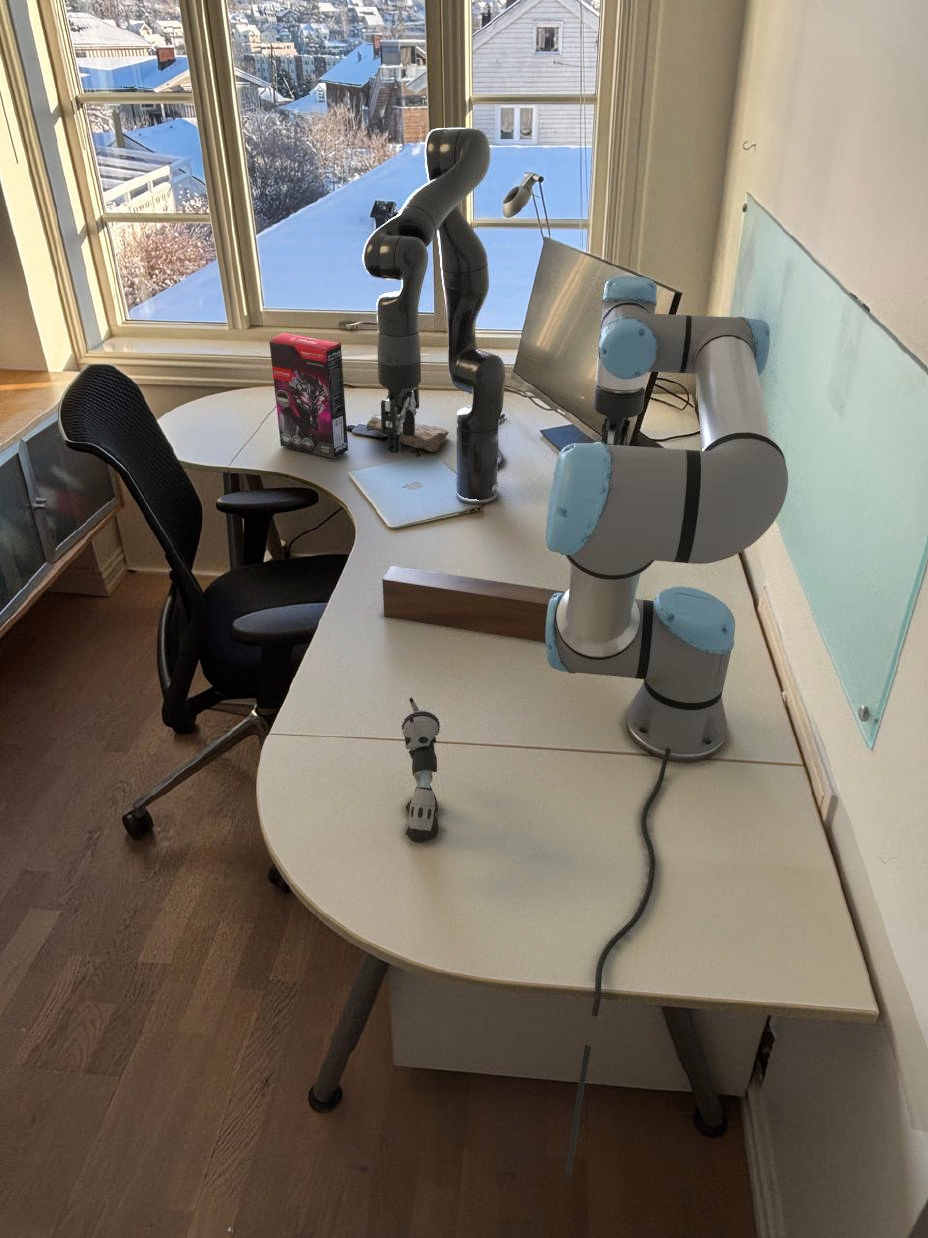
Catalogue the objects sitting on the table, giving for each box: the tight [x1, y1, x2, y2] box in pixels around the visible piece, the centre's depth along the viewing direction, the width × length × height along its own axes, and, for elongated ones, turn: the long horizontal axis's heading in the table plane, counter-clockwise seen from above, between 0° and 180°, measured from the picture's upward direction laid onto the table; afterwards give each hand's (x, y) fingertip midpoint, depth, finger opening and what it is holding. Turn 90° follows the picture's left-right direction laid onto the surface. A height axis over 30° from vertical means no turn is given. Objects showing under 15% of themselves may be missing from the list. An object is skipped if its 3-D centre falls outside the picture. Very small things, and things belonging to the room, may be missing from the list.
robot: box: [400, 697, 441, 843], centre depth 121 cm, size 20×5×20 cm, turn 3°
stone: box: [365, 413, 449, 453], centre depth 234 cm, size 21×15×6 cm
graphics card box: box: [268, 332, 349, 459], centre depth 224 cm, size 17×7×27 cm, turn 62°
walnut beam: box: [381, 565, 565, 643], centre depth 165 cm, size 5×32×8 cm, turn 75°
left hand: (401, 443), depth 170 cm, fingers open, 8 cm apart
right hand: (607, 511), depth 151 cm, fingers open, 13 cm apart
